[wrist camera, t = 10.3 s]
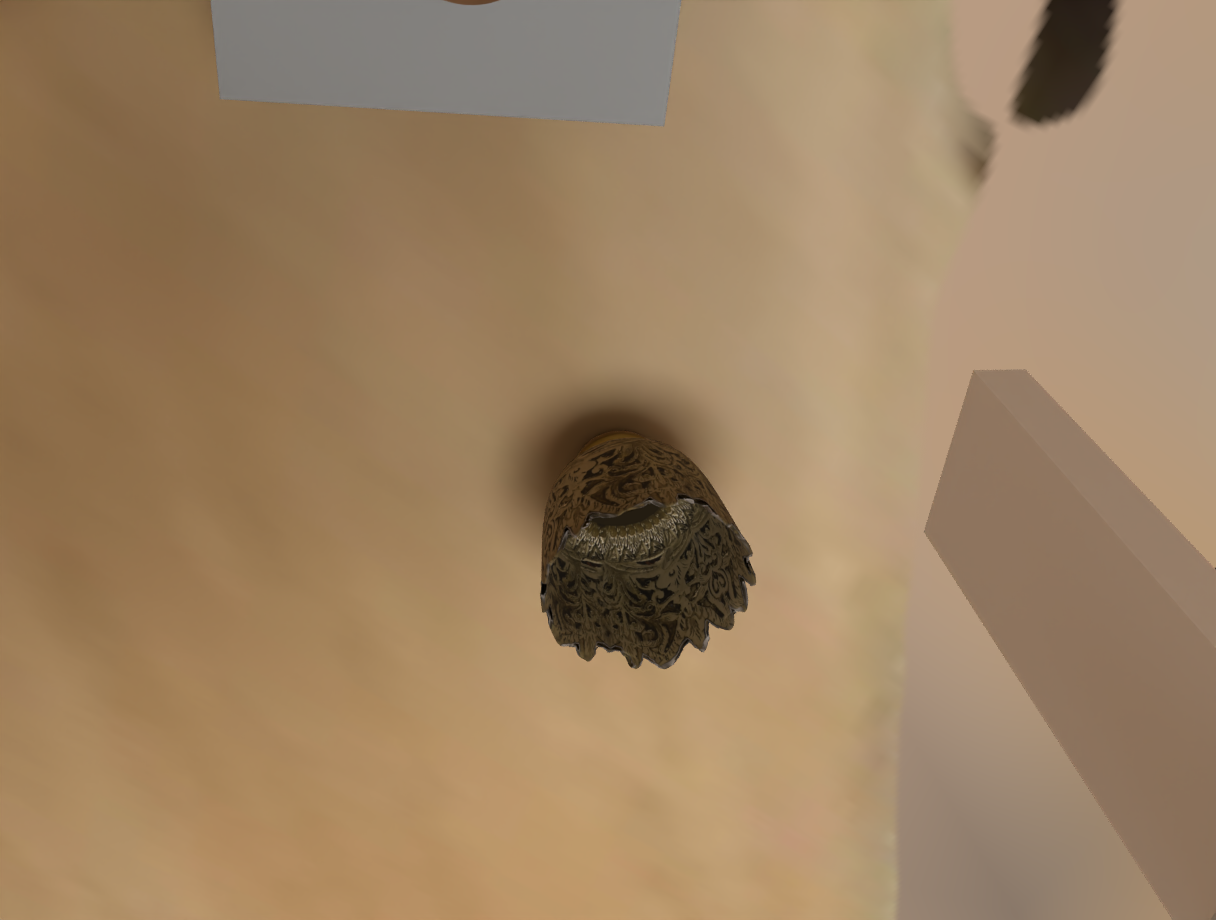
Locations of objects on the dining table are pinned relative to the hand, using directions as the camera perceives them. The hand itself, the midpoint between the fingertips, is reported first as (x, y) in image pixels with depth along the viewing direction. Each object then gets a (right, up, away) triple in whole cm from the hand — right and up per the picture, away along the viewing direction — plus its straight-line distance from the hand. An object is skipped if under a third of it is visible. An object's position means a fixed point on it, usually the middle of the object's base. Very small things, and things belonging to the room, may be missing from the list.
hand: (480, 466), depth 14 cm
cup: (+2, 0, +29) cm, 30 cm away
